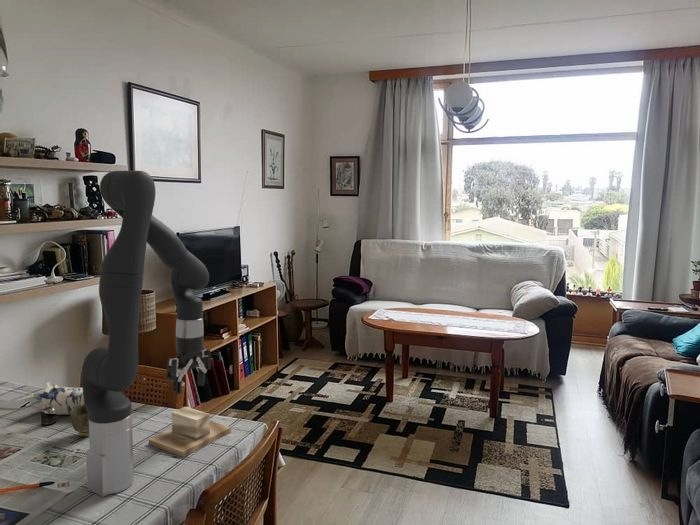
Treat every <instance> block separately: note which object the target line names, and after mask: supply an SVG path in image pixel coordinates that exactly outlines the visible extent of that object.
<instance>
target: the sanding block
mask: <svg viewBox="0 0 700 525" xmlns="http://www.w3.org/2000/svg"><path fill="white" fill-rule="evenodd" d="M210 417H211V416H210V413H209V412H205V411H202V410H198V409H194V408H191V407H188V406H183V407H181V408H177V409H176V410H174V411H171V429H172V432H173V433H176V434H179V435H182V436H185V437H188V438H190V439H193V440H196V441H197V440H199V439H201V438H203V437H205V436H207V435H209V434H210V421H211V420H210V419H211V418H210Z"/></svg>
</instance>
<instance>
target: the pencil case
mask: <svg viewBox="0 0 700 525" xmlns="http://www.w3.org/2000/svg"><path fill="white" fill-rule="evenodd" d="M45 384H46V385H45V386H46V388H45V389H44V390H43V392H42V393H38V395H37V398H36V401H40V403H39V408H40V411H41V410H42V408H43V407H44V406H46V405H52V406H53V407H54V409H55V413H56V415H55V416H58V415H59V416H60V415H61V416H62V415H65V416H69V415H70V411H71V409H73V408H76V409H77V407H78V406H79V407H81V406H82V405H83V404H84V397H83V387H69V386H59V385H57V383H53V384H51V382H48V381H47V383H45Z"/></svg>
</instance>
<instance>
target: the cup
mask: <svg viewBox="0 0 700 525" xmlns="http://www.w3.org/2000/svg"><path fill="white" fill-rule="evenodd" d="M69 417H70V421H71V426H72V428H73V429H74V431H75V432H78V433H77V435H78V436H79V437H81V438H87V437H89V415H88V411H87V409H86V407H85V405H84V404H83V405H82V406H81V407H79V406H78V407H77V409H76V408H73V409H71V411H70V416H69Z"/></svg>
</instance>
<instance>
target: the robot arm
mask: <svg viewBox="0 0 700 525" xmlns="http://www.w3.org/2000/svg"><path fill="white" fill-rule="evenodd" d="M99 192H100V195H101V198H102V200H103V201H104V202H105V203H106V205H107V206H109V208H110V209H111V210H113V211H114V212H115V213H116V214H117V215H118V216H120V217H121V219H122V221H121V227H120V230H119V232H118V235H117V236H116V238H115V240H114V241H113V242H112V245H111V246H110V247H109V249H108V251H107V252H106V254H105V255H104V258H103V260H102V263H101V266H100V274H99V284H98V296H99V300H100V303H101V307H102V310H103V312H104V315H105V318H106V322H107V325H108V346H107V347H106V346H105V347H104V346H103V347H96V348H94V349H92V350H91V351H90V352H89V353H88V354H87V355H86V356H85V358H84V360H83V363H82V366H81V367H82V368H81V385H82V387H81V388H83V397H84V405H85V407H86V409H87V411H88V415H89V436H88V437H89V449H88V450H86V451H85V458H86V459H85V461H86V462H85V463H86V483H87V484H86V486H87V489H86V490H88V491H90V492H92V493H94V494H97V495H99V496H100V497H103V498H104V497H106V496H108V495H115V494H117V493H120V492H122V491H125V490H127V489H129V487H131V486H132V485H133V483H134V481H135V478H134V476H135V473H134V448H133V447H134V446H133V445H134V444H133V443H134V442H133V413H132V412H133V408H132V407H133V406H132V401H131V400H130V399H129V398H128V397H127V396H126V395H125V393H123V392H124V391H126V390H128V389H129V388H130V387H131V386H132V384H133V383H134V381H135V380H136V377H137V374H138V369H139V322H140V321H139V320H140V310H141V309H140V307H141V298H142V297H141V296H142V291H143V282H144V274H145V273H144V272H145V259H146V258H145V257H146V250H147V245H149V246H150V248H151V249H152V250H153V251H154V253H155V254H156V255H157V257H158V258H159V259H160V261H161V262H162V263H163V265H165V266H166V267H167V268H168V269H171V273H170V278H169V279H170V284H171V288H172V292H173V296H174V299H175V302H176V322H175V323H176V324H175V350H176V353H177V355H176V357H175V358H170V357H168V358H167V361H166V380H168V381H172V391H173V392H172V393H174V394H175V395H181V394H182V390H183V389H182V388H183V387H182V379H183V378H184V375H186V374H187V372H188V371H191V370H192V369H193V370H194V369H196V370H197V374H196V376H197V380H196V381H197V383H196V384H197V386H199V387H204V386H205V384H206V373H207V372H208V370H211V369H212V354H211V350H210V349H207V348H204V344H205V343H204V340H205V339H204V337H205V335H204V332H205V331H204V316H203V315H204V302H203V299H202V298H200V297H198V296H196V295H195V294H194V293H193V291H192V290H197V291H198V290H202V289H204V288H205V287H206V286H207V285H208V284H209V282H210V273H209V271H208V270H209V269H208V268H207V267H206V265H205V264H204V263H203V261H201V260H200V259H199V258H198V257H196V256H195V255H194V254H193V253H191V252H190V251H189V250H188V249H187V248H186V246H185V245H184V243H183V242H182V241H181V239H180V238H179V236H178V235H177V234H176V233H175V231H173V230H172V229H171V228H170V227H168V226H167V225H166V224H165V223H164V222H162V221H161V220H159V219H158V218H156V217H155V216H154V215H153V212H154V206H155V200H156V185H155V181H154V179H153V177H152V176H151V175H150V174H149V173H148V172H147V171H144V170H143V171H142V170H113V171H109V172H107V173H105V174H104V175H103V176H102V177H101V180H100V183H99Z"/></svg>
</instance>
